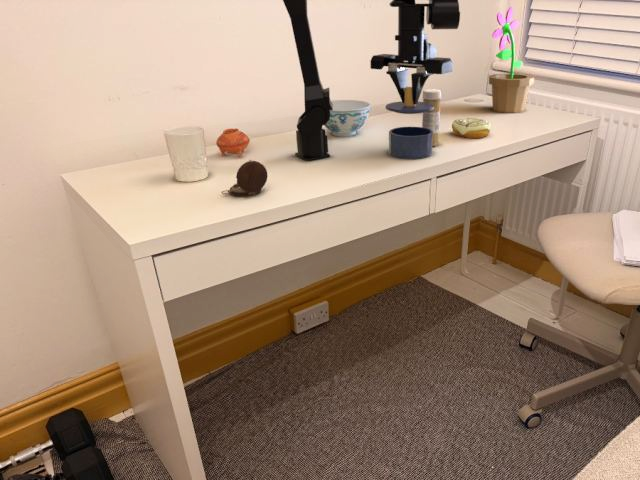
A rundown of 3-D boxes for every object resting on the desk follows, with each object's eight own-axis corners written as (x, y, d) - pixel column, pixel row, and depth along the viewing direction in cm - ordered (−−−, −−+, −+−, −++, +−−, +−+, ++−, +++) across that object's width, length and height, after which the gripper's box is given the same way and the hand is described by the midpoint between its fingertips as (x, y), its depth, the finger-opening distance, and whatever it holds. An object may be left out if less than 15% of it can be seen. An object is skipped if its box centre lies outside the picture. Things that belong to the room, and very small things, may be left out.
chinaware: (331, 142, 145) (330, 112, 141) (308, 131, 156) (306, 103, 153) (381, 135, 152) (380, 106, 148) (355, 125, 163) (354, 98, 159)
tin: (405, 161, 129) (405, 138, 127) (381, 152, 137) (380, 130, 134) (440, 154, 134) (441, 132, 132) (415, 145, 142) (415, 124, 139)
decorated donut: (460, 140, 146) (461, 126, 145) (445, 131, 155) (446, 117, 154) (496, 137, 149) (498, 123, 147) (479, 128, 158) (480, 115, 156)
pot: (259, 153, 135) (250, 127, 131) (231, 166, 132) (221, 140, 127) (244, 146, 140) (235, 120, 136) (217, 158, 137) (207, 133, 133)
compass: (253, 185, 114) (248, 150, 111) (270, 195, 109) (266, 158, 105) (216, 193, 110) (210, 156, 107) (232, 204, 105) (227, 166, 101)
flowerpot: (505, 103, 191) (514, 6, 177) (539, 110, 181) (552, 7, 167) (477, 109, 183) (484, 7, 169) (511, 116, 173) (522, 8, 159)
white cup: (172, 184, 115) (162, 136, 111) (173, 173, 122) (164, 127, 117) (211, 181, 117) (203, 133, 112) (210, 170, 124) (203, 125, 119)
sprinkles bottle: (430, 141, 145) (432, 87, 139) (442, 145, 142) (445, 90, 136) (417, 144, 143) (418, 89, 136) (429, 148, 140) (431, 92, 133)
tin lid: (404, 117, 123) (404, 93, 121) (376, 109, 132) (376, 86, 129) (444, 111, 129) (445, 88, 126) (414, 104, 137) (415, 82, 135)
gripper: (465, 29, 123) (461, 101, 131) (394, 26, 132) (394, 94, 140) (442, 32, 115) (438, 109, 123) (368, 29, 124) (369, 101, 132)
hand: (409, 103), depth 130 cm, fingers closed on tin lid, 3 cm apart
